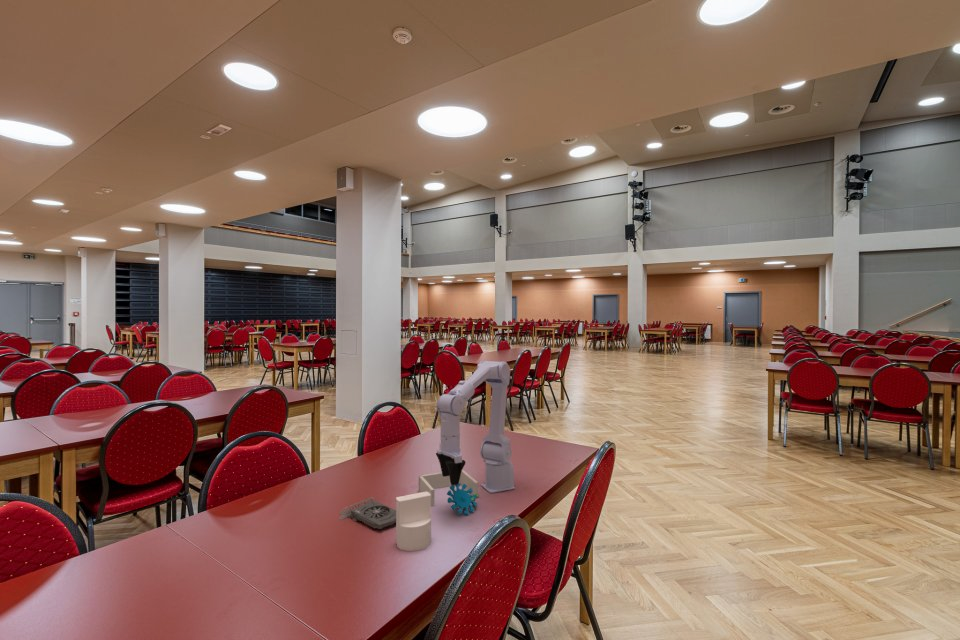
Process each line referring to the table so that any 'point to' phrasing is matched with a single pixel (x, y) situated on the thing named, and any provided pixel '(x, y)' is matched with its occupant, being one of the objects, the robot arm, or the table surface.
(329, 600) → the table surface
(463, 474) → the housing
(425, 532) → the cylinder with rectangular tab
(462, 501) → the blue virus model
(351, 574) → the table surface
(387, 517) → the graphics card
